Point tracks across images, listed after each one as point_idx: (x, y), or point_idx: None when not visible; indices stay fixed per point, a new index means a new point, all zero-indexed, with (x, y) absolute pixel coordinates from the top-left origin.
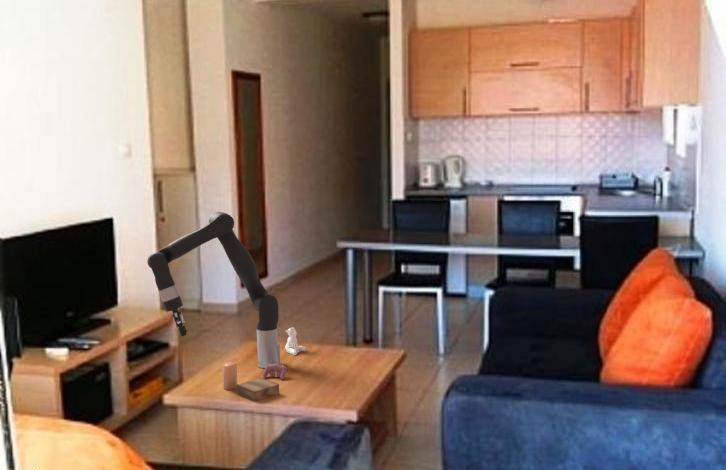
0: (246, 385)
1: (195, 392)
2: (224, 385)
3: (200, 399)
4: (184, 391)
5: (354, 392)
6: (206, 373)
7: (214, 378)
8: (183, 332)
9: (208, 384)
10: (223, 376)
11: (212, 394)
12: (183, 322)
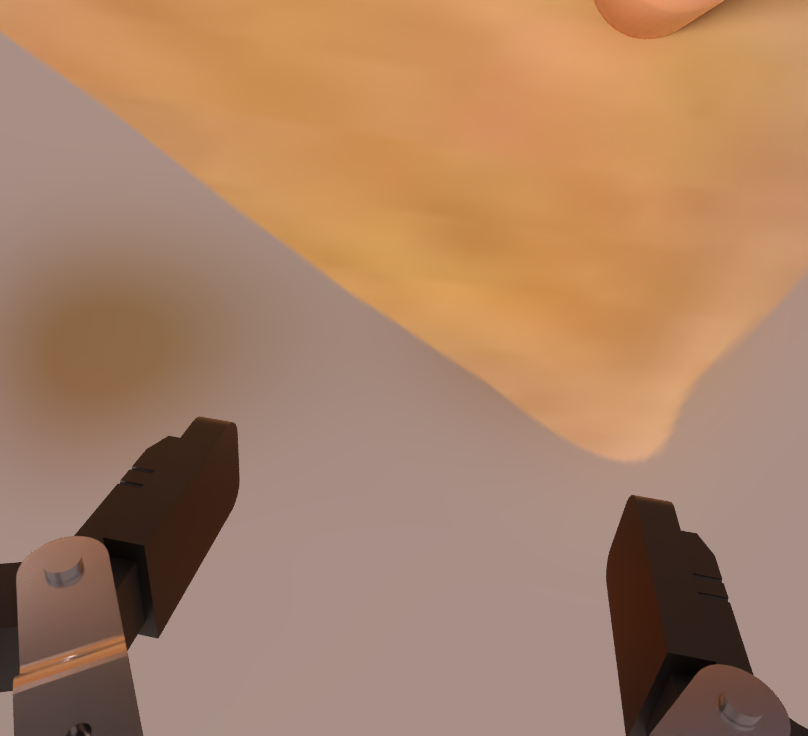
0: None
1: (621, 280)
2: (686, 24)
3: (801, 266)
4: (556, 355)
5: None
6: (158, 116)
7: (330, 69)
8: (697, 586)
9: (472, 148)
10: (712, 3)
11: (738, 157)
12: (114, 585)
